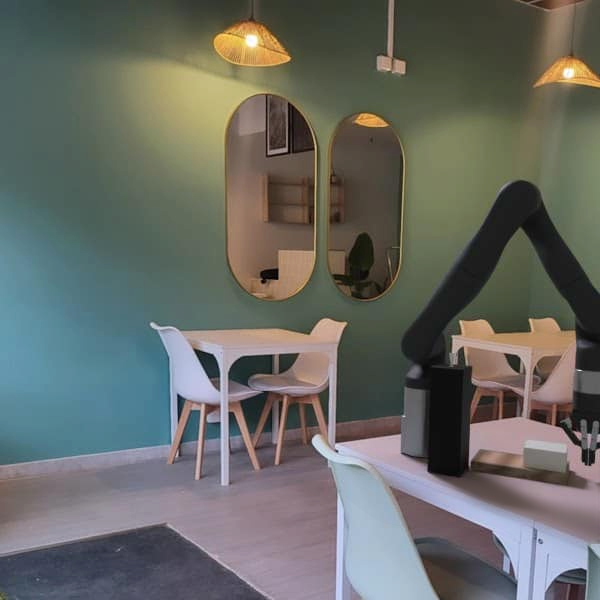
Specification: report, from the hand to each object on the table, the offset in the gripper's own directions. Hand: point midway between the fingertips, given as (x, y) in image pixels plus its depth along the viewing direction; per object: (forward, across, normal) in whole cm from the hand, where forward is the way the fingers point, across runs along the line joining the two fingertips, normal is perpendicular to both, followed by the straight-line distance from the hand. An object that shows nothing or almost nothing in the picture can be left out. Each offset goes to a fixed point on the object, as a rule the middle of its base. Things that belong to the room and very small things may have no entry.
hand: (588, 464), depth 135 cm
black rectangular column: (+4, -30, -10) cm, 31 cm away
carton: (+2, -9, 0) cm, 9 cm away
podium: (+4, -14, 0) cm, 15 cm away
